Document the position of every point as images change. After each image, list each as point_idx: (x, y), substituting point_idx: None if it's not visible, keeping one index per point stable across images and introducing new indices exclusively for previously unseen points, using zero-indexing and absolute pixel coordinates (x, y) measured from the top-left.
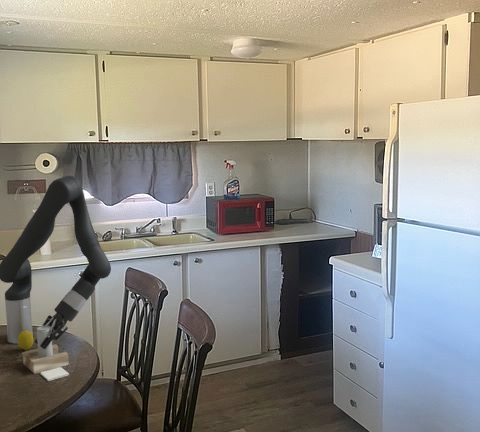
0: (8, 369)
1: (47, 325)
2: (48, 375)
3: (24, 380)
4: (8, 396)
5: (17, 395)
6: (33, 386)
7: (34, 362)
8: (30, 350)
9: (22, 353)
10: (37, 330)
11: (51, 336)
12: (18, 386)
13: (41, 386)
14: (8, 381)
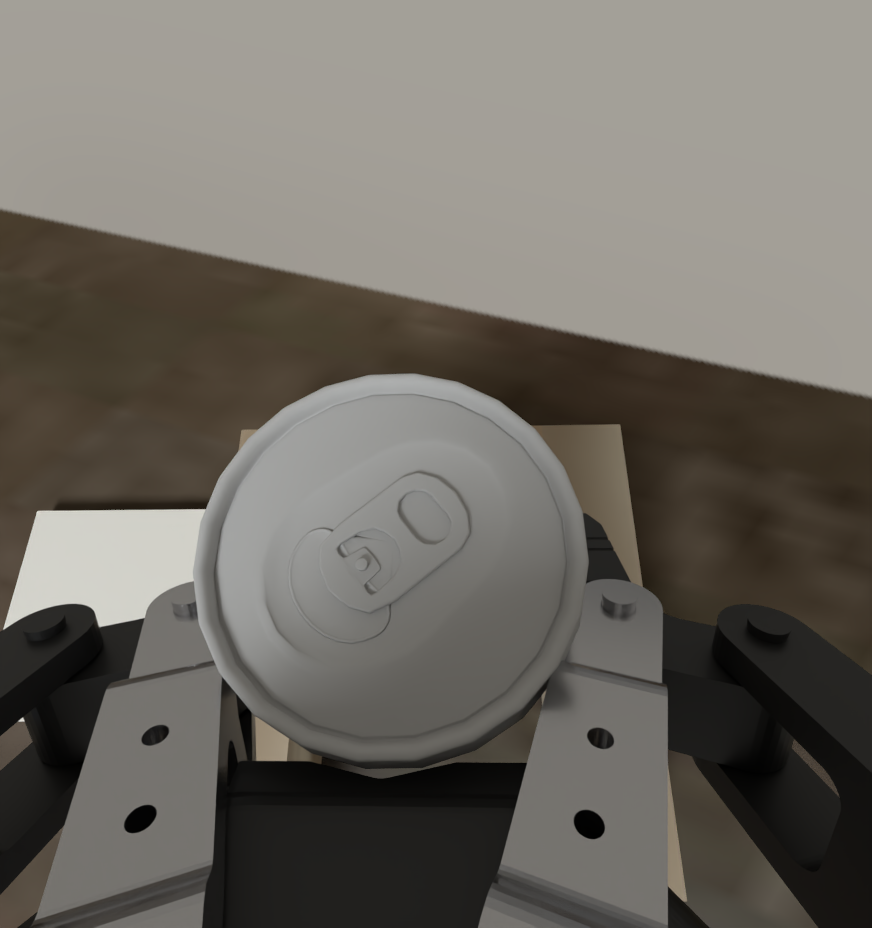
0: (526, 348)
1: (510, 709)
2: (107, 541)
3: (222, 381)
4: (69, 244)
5: (31, 284)
6: (65, 399)
7: (242, 437)
8: (631, 513)
9: (610, 428)
10: (402, 395)
11: (33, 616)
12: (157, 323)
13: (11, 442)
14: (296, 296)
